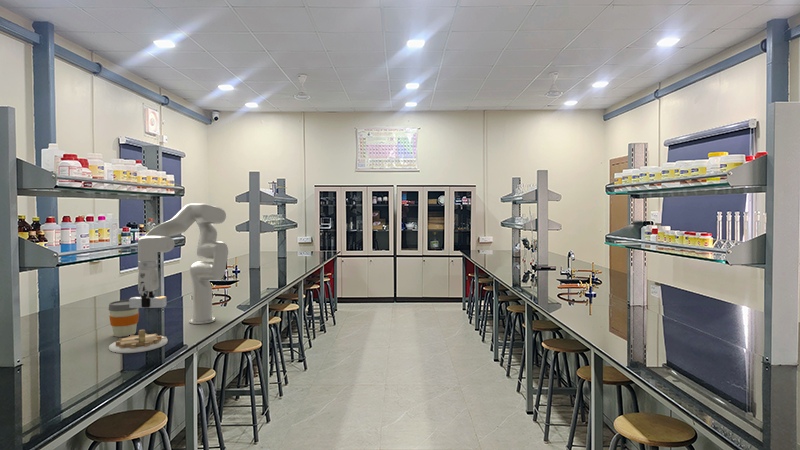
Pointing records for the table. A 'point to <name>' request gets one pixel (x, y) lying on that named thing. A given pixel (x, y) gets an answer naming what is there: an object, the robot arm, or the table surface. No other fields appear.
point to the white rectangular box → (154, 302)
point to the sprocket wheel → (138, 340)
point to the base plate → (138, 349)
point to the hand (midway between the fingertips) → (148, 305)
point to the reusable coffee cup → (123, 318)
